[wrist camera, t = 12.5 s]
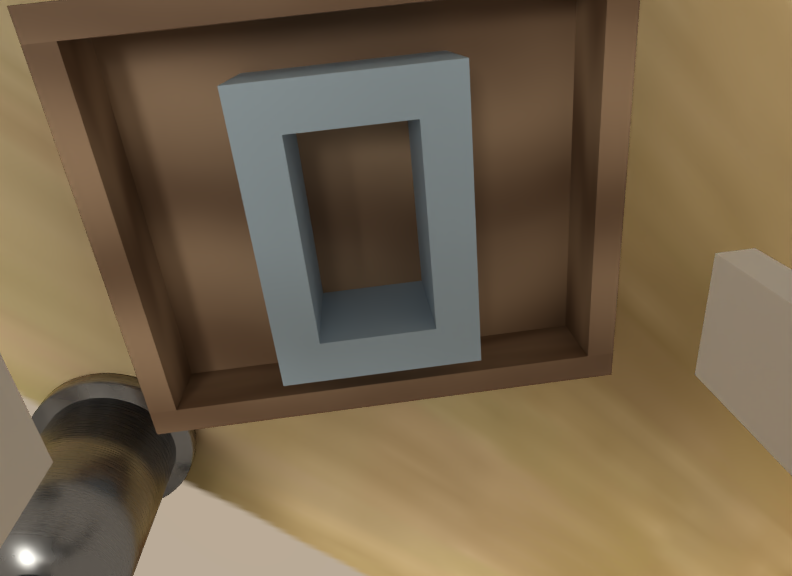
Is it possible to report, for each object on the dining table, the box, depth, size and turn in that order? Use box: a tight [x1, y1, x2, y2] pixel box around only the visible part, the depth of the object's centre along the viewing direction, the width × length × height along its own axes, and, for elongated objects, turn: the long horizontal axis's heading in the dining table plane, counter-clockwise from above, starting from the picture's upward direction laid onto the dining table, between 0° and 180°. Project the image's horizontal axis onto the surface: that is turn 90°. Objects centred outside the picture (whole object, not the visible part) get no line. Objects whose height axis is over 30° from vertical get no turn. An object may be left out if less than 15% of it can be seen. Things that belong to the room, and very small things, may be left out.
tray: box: [7, 0, 640, 434], centre depth 21 cm, size 15×18×4 cm
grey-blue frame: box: [217, 50, 481, 386], centre depth 20 cm, size 7×10×4 cm
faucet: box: [0, 373, 196, 576], centre depth 20 cm, size 7×7×14 cm
